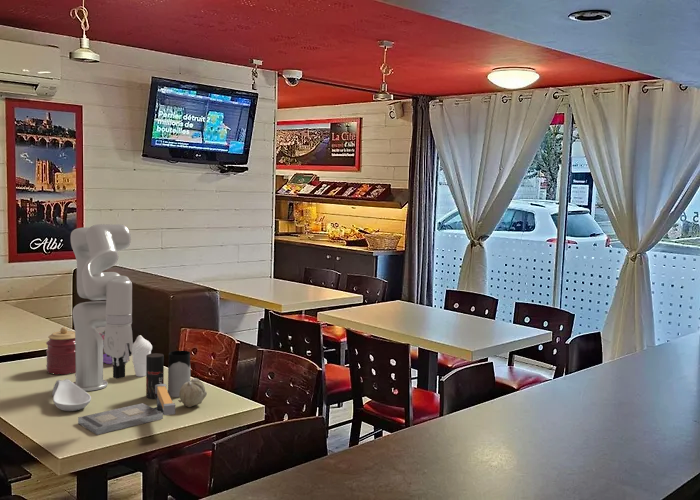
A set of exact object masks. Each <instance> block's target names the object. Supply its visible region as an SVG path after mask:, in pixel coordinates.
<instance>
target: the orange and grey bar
mask: <svg viewBox="0 0 700 500" xmlns="http://www.w3.org/2000/svg"><path fill="white" fill-rule="evenodd" d="M155 394H157V395H158V397H159V400H160V402H161V405H162V407H163V413H164V416H168V415H175V414H176V404H175V402H173V400H172V397H170V396H169V394H168V388H167V384H165V383H164V384H157V385H155Z"/></svg>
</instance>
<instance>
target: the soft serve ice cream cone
mask: <svg viewBox="0 0 700 500" xmlns="http://www.w3.org/2000/svg"><path fill="white" fill-rule="evenodd" d="M152 350H153V345H152V344H151V342H150V341H149V340H147V339H145V338H144V337H143V336H142V335H141V334H140V335H139V334H138V336H136V339H135V341H134V342H133V352H132V355H131V356H132V364H133V369H134V373H135V376H136V377H141V378H142V377H146V355H148V354H152Z"/></svg>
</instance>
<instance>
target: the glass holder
mask: <svg viewBox="0 0 700 500" xmlns="http://www.w3.org/2000/svg"><path fill="white" fill-rule="evenodd" d="M167 373H168V374H167V377H168V378H167V391H168V394H169V396H170V398H180V396H179V392H180V389H181V387H182V385H183V384H184V383H186V382H189V381H191V352H190V351H187V350H173V351H169V353H168V368H167Z"/></svg>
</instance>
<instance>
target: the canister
mask: <svg viewBox="0 0 700 500" xmlns="http://www.w3.org/2000/svg"><path fill="white" fill-rule="evenodd" d="M45 344H46V345H47V349H46V351H45V352H46V372H47V373H48V372H49V373H48V374H50V373H54V374H53V375H58V374H61V375H70V374H69V373H71V374H76V352H75V331H72V330H68V329H67V327H66V326H64V327H63V326H62V327H61V328H60V329H59V331H56V332H55V331H54V332H52V333H51V334H50V335H48V340H47V341H46V342H45Z"/></svg>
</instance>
